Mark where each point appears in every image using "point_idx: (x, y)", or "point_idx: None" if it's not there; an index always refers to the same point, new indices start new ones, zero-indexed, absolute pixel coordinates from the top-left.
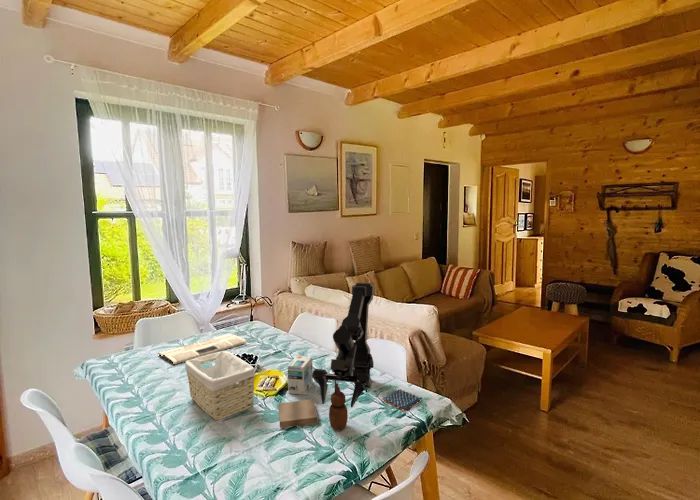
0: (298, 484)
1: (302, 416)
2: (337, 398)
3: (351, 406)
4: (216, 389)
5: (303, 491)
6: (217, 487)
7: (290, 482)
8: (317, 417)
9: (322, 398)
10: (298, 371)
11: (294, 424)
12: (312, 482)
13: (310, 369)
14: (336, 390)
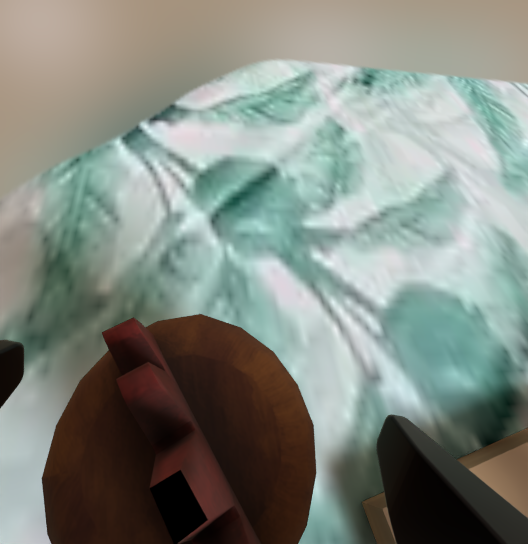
0: (314, 87)
1: None
2: (194, 317)
3: (10, 341)
4: None
5: (291, 67)
6: (521, 98)
7: (340, 95)
8: (382, 507)
9: (432, 445)
10: None
11: (502, 443)
12: (273, 89)
13: None
14: (222, 480)
